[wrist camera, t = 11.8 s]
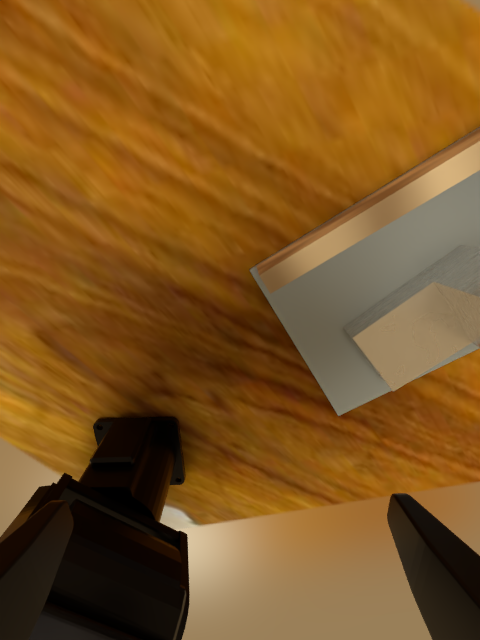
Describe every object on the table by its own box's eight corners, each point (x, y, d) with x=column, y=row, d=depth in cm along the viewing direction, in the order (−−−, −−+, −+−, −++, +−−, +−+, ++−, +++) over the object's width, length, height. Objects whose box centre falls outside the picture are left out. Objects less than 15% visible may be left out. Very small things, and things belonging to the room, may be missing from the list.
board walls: (324, 380, 22) (340, 409, 18) (255, 264, 19) (258, 275, 15) (532, 274, 19) (594, 285, 16) (488, 121, 16) (552, 96, 13)
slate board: (336, 411, 23) (338, 416, 22) (249, 269, 19) (249, 270, 18) (551, 307, 20) (559, 309, 19) (497, 115, 16) (505, 112, 16)
